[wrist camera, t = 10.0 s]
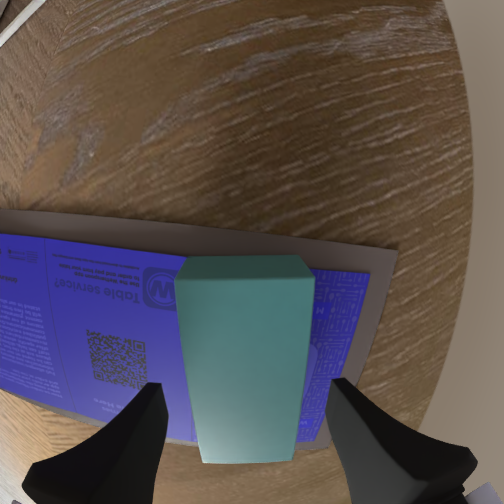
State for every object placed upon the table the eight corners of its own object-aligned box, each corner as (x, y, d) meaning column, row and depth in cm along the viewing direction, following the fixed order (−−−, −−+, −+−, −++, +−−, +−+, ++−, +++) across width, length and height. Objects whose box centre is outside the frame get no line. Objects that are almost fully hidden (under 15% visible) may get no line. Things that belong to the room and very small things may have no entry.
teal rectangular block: (299, 254, 13) (316, 276, 10) (285, 424, 16) (293, 460, 13) (185, 255, 13) (172, 279, 10) (204, 426, 16) (201, 463, 13)
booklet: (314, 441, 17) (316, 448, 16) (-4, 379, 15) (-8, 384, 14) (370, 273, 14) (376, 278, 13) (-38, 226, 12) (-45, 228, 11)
